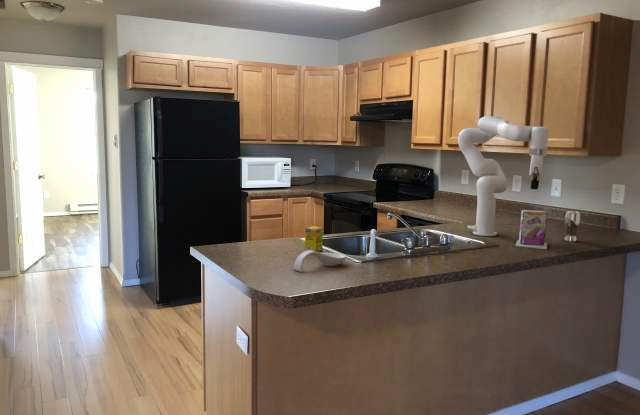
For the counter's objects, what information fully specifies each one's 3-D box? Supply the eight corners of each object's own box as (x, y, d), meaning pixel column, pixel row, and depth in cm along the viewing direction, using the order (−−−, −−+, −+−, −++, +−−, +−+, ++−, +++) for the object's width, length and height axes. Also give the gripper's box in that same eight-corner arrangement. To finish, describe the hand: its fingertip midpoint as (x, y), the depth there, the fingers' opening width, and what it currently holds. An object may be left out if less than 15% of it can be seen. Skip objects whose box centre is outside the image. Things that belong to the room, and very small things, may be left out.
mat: (515, 246, 247) (515, 245, 247) (516, 241, 260) (516, 240, 260) (546, 249, 242) (546, 248, 241) (546, 244, 254) (547, 242, 254)
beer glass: (571, 242, 259) (574, 213, 257) (559, 240, 265) (562, 211, 263) (580, 241, 262) (583, 212, 260) (568, 239, 268) (571, 210, 266)
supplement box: (315, 254, 224) (316, 229, 222) (304, 252, 227) (304, 228, 225) (322, 251, 229) (323, 227, 227) (311, 249, 232) (312, 226, 230)
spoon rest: (331, 259, 215) (331, 242, 214) (351, 265, 206) (352, 247, 205) (287, 268, 199) (288, 250, 198) (307, 275, 190) (308, 256, 189)
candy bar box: (520, 244, 249) (522, 211, 247) (518, 242, 254) (521, 209, 252) (544, 245, 247) (547, 212, 245) (542, 243, 252) (545, 210, 250)
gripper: (530, 151, 254) (527, 185, 257) (528, 153, 239) (525, 189, 241) (546, 152, 251) (543, 187, 254) (546, 153, 236) (542, 190, 238)
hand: (534, 188), depth 248 cm, fingers open, 9 cm apart
